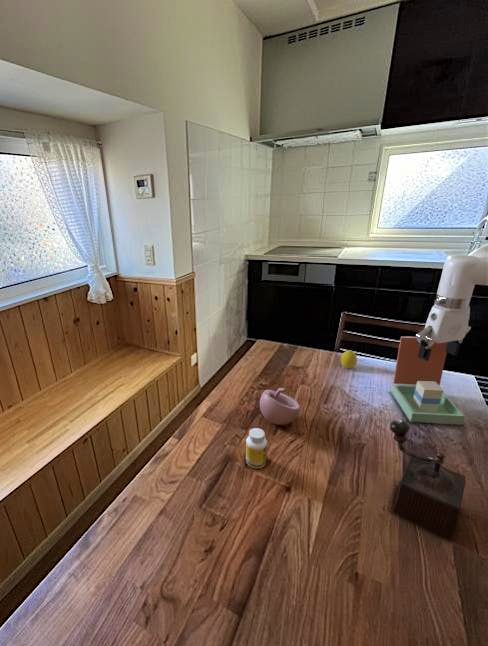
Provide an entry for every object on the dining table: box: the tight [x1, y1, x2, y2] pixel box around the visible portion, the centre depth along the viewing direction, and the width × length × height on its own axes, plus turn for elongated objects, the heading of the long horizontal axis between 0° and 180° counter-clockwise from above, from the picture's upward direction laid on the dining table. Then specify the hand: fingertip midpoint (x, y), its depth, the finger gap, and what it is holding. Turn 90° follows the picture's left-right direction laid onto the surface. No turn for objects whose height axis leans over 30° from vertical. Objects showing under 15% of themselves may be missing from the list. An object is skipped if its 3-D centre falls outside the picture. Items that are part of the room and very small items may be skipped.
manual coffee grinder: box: [389, 419, 466, 540], centre depth 73 cm, size 16×11×18 cm
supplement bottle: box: [245, 427, 268, 469], centre depth 89 cm, size 5×5×10 cm
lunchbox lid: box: [392, 336, 448, 386], centre depth 108 cm, size 16×14×1 cm
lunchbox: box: [391, 384, 466, 426], centre depth 105 cm, size 16×14×4 cm
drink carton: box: [412, 381, 444, 412], centre depth 104 cm, size 5×5×8 cm
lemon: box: [340, 349, 358, 370], centre depth 129 cm, size 6×6×8 cm
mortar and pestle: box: [259, 387, 301, 426], centre depth 103 cm, size 12×12×11 cm
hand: (437, 356), depth 99 cm, fingers open, 9 cm apart
